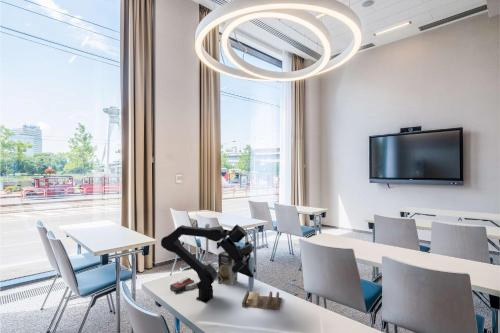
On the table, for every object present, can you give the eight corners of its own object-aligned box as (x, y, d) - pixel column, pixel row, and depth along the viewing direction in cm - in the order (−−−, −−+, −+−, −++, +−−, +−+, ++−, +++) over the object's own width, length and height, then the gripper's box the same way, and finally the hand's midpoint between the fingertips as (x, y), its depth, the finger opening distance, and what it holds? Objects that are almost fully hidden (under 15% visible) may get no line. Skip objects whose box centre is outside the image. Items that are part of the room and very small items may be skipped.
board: (248, 291, 125) (248, 260, 125) (250, 285, 131) (251, 256, 131) (251, 291, 125) (252, 260, 125) (253, 285, 131) (254, 256, 131)
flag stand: (207, 280, 153) (208, 226, 153) (191, 275, 160) (191, 224, 160) (222, 272, 164) (222, 222, 164) (206, 268, 171) (206, 220, 171)
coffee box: (217, 283, 149) (217, 253, 149) (224, 279, 154) (224, 250, 155) (231, 287, 144) (231, 256, 144) (238, 282, 150) (238, 253, 150)
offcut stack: (245, 304, 124) (245, 299, 124) (249, 296, 132) (249, 291, 132) (256, 305, 123) (256, 300, 123) (259, 297, 131) (259, 292, 131)
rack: (241, 308, 122) (242, 301, 122) (247, 296, 134) (247, 289, 134) (280, 312, 119) (280, 304, 119) (281, 299, 131) (281, 292, 131)
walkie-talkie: (177, 295, 135) (208, 282, 151) (177, 286, 135) (208, 274, 151) (167, 290, 140) (197, 278, 156) (167, 282, 140) (197, 271, 156)
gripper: (239, 243, 119) (263, 270, 117) (247, 233, 138) (268, 256, 136) (221, 259, 121) (245, 287, 119) (231, 247, 139) (252, 271, 137)
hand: (254, 274), depth 128 cm, fingers closed on board, 6 cm apart
